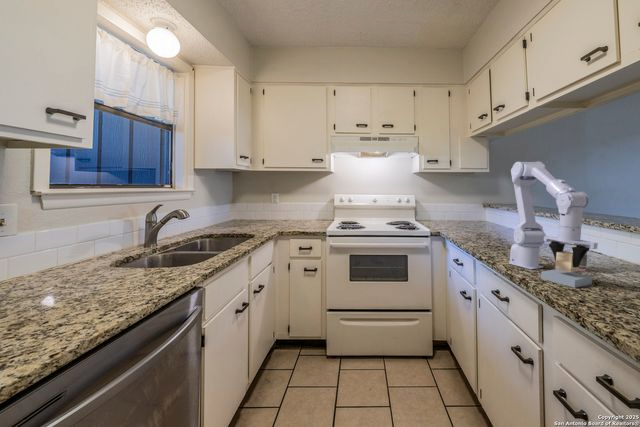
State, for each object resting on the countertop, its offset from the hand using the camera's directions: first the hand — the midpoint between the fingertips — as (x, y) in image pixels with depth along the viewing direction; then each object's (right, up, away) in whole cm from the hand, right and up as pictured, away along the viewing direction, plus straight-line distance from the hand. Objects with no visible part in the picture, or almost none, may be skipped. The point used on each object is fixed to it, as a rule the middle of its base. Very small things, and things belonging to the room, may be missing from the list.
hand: (566, 265), depth 96 cm
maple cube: (0, -2, 0) cm, 2 cm away
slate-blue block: (0, -6, +1) cm, 6 cm away
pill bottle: (+17, -5, +14) cm, 23 cm away
